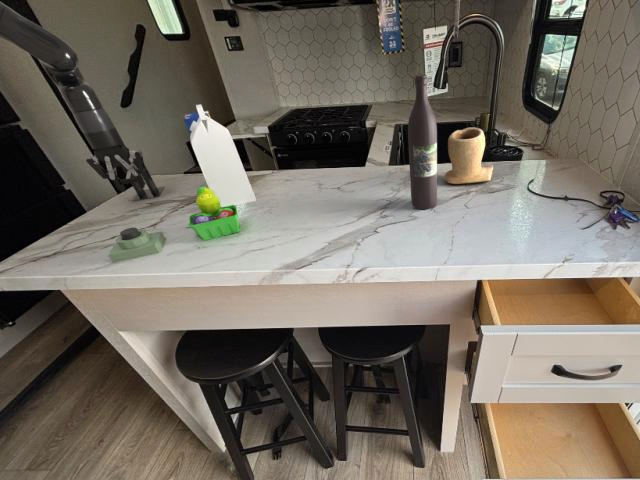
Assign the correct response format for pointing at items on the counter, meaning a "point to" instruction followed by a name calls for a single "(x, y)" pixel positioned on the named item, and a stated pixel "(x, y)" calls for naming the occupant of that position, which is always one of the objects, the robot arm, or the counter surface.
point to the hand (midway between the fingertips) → (133, 189)
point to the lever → (129, 175)
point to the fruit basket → (213, 216)
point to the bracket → (152, 190)
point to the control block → (137, 246)
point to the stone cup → (467, 157)
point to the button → (130, 233)
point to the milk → (220, 161)
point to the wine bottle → (422, 149)
